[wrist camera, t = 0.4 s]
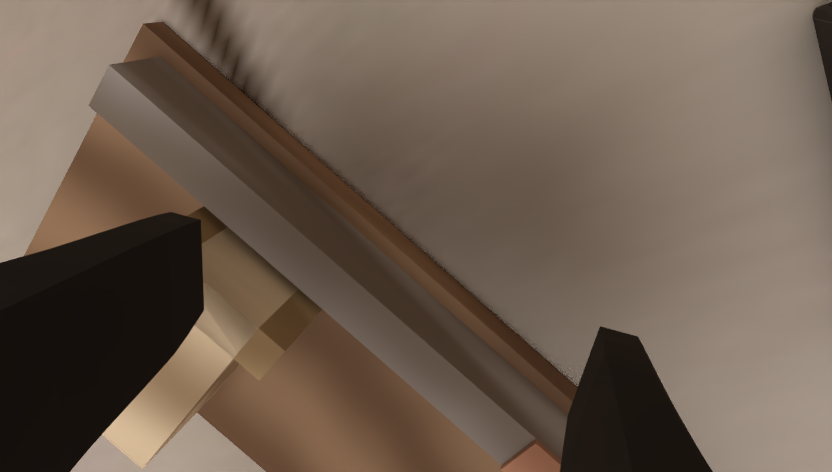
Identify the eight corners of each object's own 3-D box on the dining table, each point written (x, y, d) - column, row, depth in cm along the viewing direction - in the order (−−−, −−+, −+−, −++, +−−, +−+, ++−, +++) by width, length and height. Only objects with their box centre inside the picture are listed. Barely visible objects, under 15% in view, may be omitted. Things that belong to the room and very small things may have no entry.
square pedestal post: (234, 409, 26) (164, 488, 22) (139, 328, 26) (51, 392, 22) (344, 284, 22) (285, 351, 18) (234, 189, 22) (151, 235, 18)
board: (534, 676, 28) (524, 766, 25) (40, 252, 27) (-36, 288, 24) (766, 554, 23) (792, 649, 20) (162, 22, 22) (84, 29, 19)
